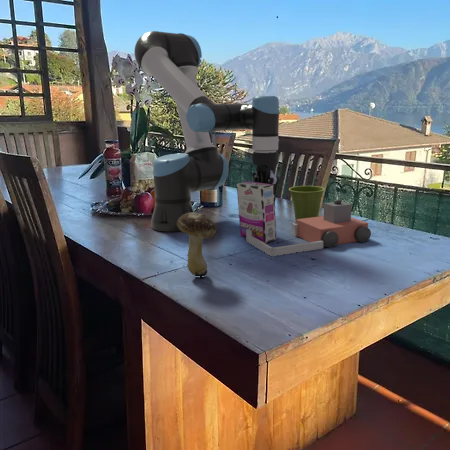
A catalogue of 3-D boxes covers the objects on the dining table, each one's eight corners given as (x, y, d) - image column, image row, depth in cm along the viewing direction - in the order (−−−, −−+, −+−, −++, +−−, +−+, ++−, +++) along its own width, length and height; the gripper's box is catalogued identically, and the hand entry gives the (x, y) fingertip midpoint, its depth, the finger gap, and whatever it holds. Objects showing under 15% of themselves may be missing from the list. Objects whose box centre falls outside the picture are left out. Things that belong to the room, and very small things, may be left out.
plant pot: (297, 215, 161) (298, 184, 158) (329, 219, 154) (330, 187, 151) (281, 222, 151) (282, 189, 149) (314, 227, 145) (315, 193, 142)
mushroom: (179, 271, 108) (176, 210, 105) (215, 269, 109) (214, 208, 105) (179, 286, 99) (176, 219, 95) (218, 284, 100) (216, 218, 96)
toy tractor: (271, 256, 117) (271, 215, 114) (244, 240, 132) (244, 203, 129) (371, 241, 129) (373, 203, 126) (336, 227, 144) (337, 193, 141)
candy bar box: (277, 239, 131) (274, 184, 126) (265, 244, 128) (261, 187, 123) (251, 232, 140) (248, 180, 135) (239, 236, 137) (235, 183, 132)
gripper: (287, 152, 126) (286, 233, 132) (266, 148, 138) (266, 223, 144) (263, 153, 124) (263, 236, 130) (244, 149, 135) (244, 225, 141)
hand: (264, 229), depth 137 cm, fingers closed
